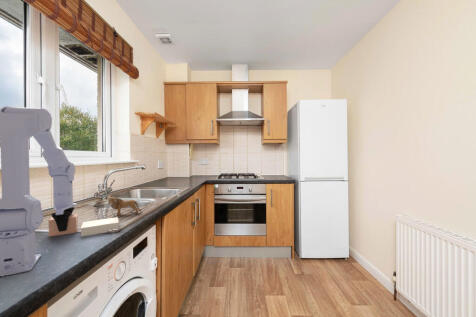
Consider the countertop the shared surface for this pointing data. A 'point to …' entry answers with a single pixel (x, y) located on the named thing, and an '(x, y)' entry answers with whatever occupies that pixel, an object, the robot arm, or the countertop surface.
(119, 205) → the lion figurine
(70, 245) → the countertop surface
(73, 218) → the terracotta brick
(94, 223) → the cream base brick
